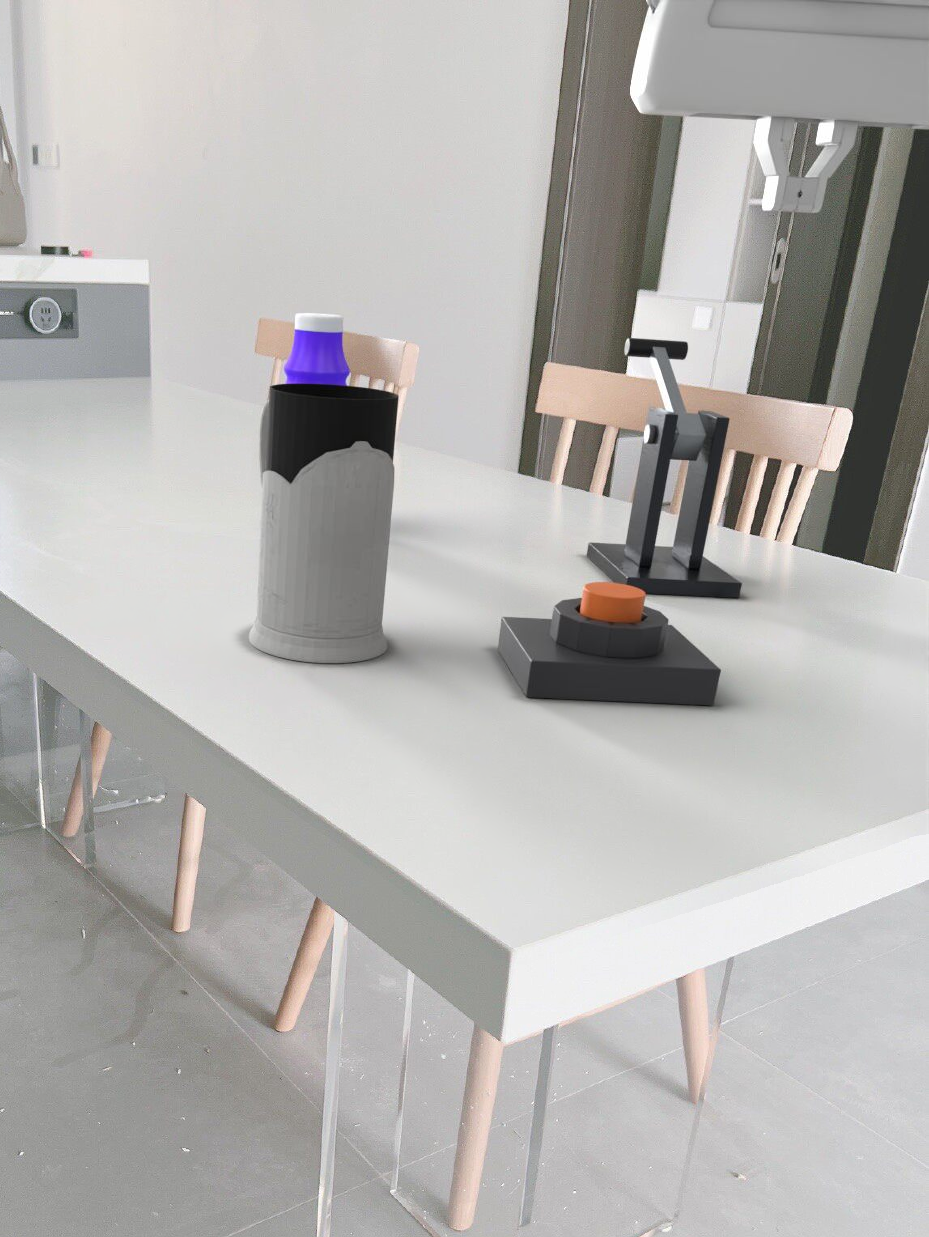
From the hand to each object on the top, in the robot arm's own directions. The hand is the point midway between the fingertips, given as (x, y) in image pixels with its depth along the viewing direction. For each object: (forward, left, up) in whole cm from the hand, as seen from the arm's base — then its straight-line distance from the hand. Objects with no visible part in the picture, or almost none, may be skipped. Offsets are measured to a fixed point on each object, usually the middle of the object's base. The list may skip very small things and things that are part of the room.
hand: (790, 211), depth 71 cm
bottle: (+25, -33, -26) cm, 49 cm away
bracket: (-3, -19, -26) cm, 32 cm away
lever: (-3, -24, -13) cm, 28 cm away
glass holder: (+27, +1, -26) cm, 38 cm away
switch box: (+9, +8, -26) cm, 29 cm away
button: (+9, +8, -22) cm, 26 cm away
